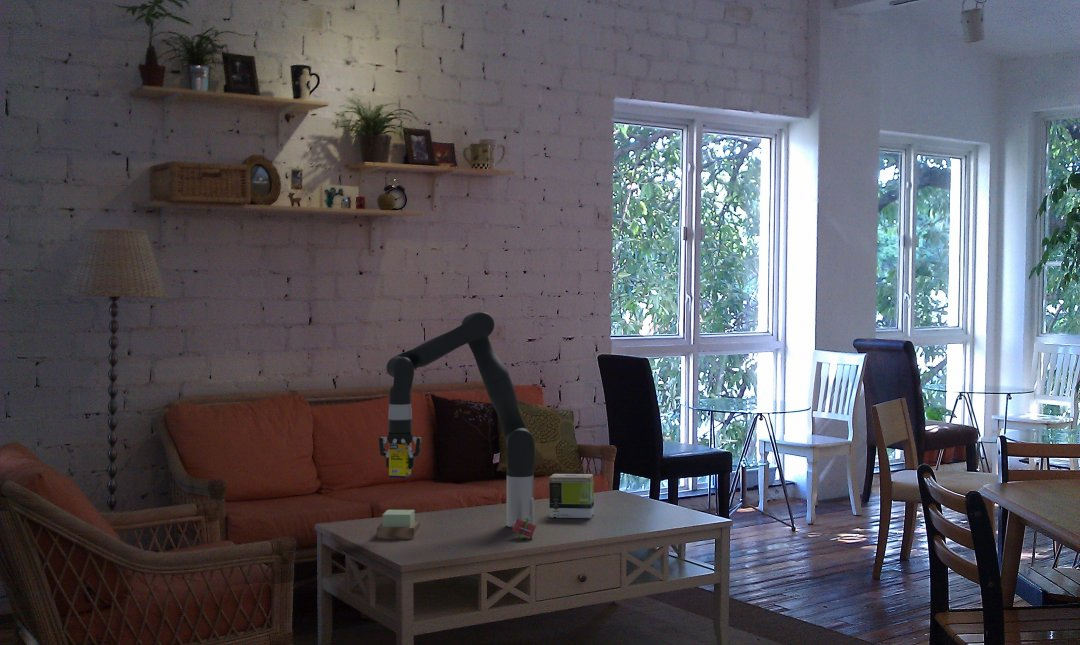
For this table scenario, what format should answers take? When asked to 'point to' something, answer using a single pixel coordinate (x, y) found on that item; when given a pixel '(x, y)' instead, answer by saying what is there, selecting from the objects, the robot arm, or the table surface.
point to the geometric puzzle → (524, 528)
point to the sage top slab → (398, 518)
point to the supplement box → (399, 461)
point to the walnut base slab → (398, 531)
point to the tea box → (571, 495)
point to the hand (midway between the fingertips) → (400, 468)
